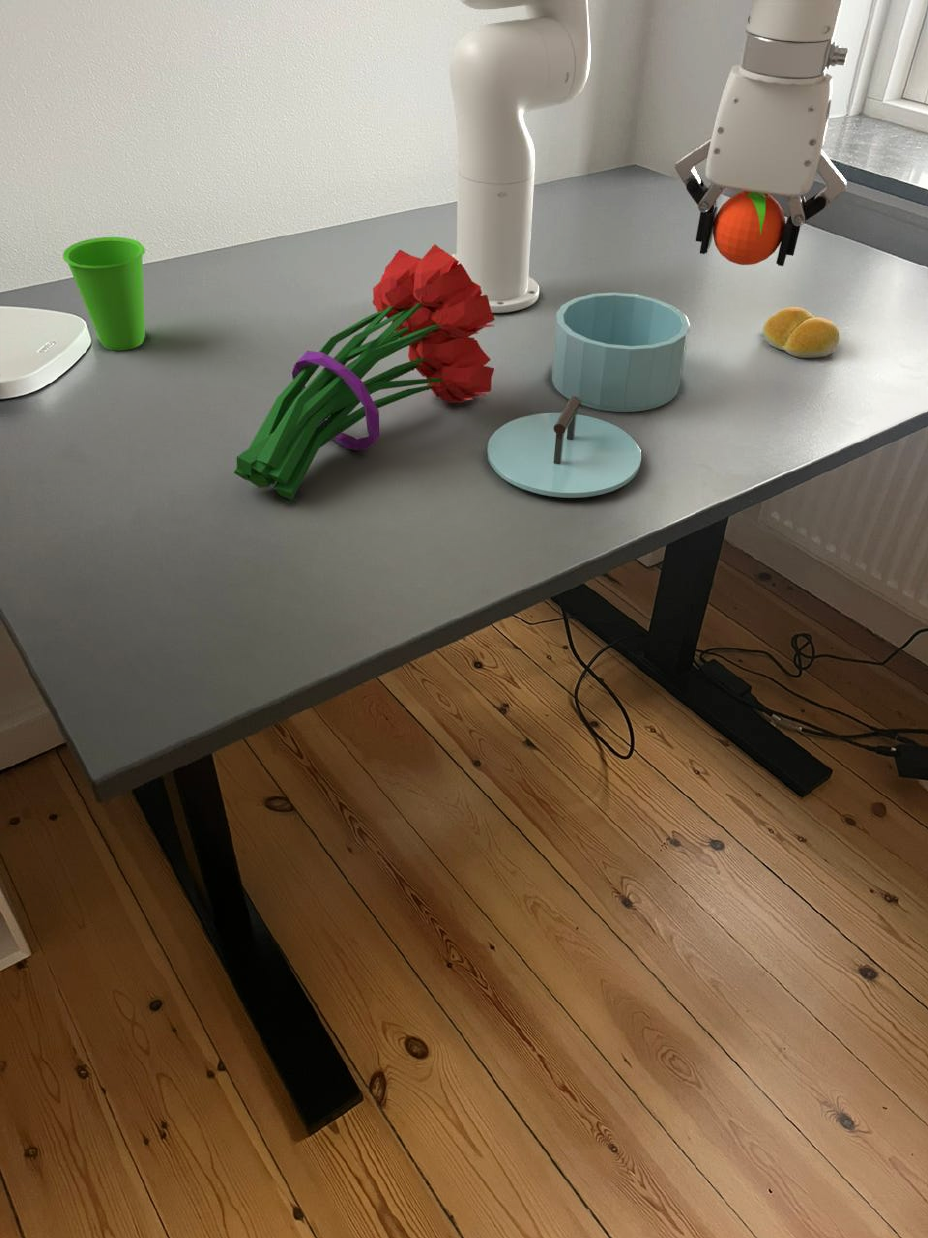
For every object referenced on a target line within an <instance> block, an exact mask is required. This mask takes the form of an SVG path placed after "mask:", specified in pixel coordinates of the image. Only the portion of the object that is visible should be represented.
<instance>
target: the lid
mask: <svg viewBox="0 0 928 1238" xmlns="http://www.w3.org/2000/svg"><path fill="white" fill-rule="evenodd" d="M580 404H581V401H580V399H579V398H578V397H576V396H573V397H571V398H570V399H568V401H567V403H566V405H565V406H564V408H563V410H562V411H561V412H543V413H535V414H529V415H525V416H521V417H518V418H516V419H513V420H510V421H509V422H507V423H504V424H503V425H502V426H500V427H499V428H498V429H496V430H495V431H494V432H493V434H491V436H490V438H489V440H488V443H487V445H486V447H487V448H486V449H487V450H486V457H487V461H488V463H489V464H490V467H491V468H492V469H493V471H494V472H495V473H496V474H497V475H498V476H499V477H500V478H502V479H503V480H504V481H506V482H507V483H509V484H511V485H513V486H515V487H517V488H519V489H521V490H523V491H528V492H530V493H534V494H536V495H541V496H547V497H552V498H553V497H554V498H566V499H567V498H568V499H578V498H589V497H597V496H600V495H601V496H602V495H605V494H609V493H611V492H614V491H616V490H619V489H620V488H622V487H624V486H626V485H628V484H629V483H630V482H631V481H633V479H634V478H635V477H636V476H637V474H638V472H639V471H640V468H641V465H642V452H641V448H640V447H639V445H638V443H637V442H636V441H635V439H634V438H633V437H632V436H631V435H630V434H629V433H628V432H627V431H625V430H623V429H622V428H620V427H619V426H617V425H614V424H612V423H610V422H609V421H605V420H603V419H600V418H596V417H593V416H589V415H584V414H578V409H579V408H580V406H581V405H580Z"/></svg>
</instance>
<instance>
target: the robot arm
mask: <svg viewBox="0 0 928 1238" xmlns="http://www.w3.org/2000/svg"><path fill="white" fill-rule="evenodd" d="M843 1H844V0H751V3H750V9H749V14H748V19H747V25H746V29H745V35H744V39H743V45H742V50H741V56H740V61H739V64H734V65H733V66H732V67H731V69H730V71H729V74H728V77H727V79H726V83H725V86H724V88H723V92H722V96H721V99H720V103H719V106H718V110H717V114H716V117H715V120H714V121H715V122H714V126H713V130H712V134H711V137H709V138H707V139H706V140H704V142H702V143H700V144H698V145H697V146H696V147H695V148H692V149H691V150H690V151H689V152H687V153H686V154H683V155H682V156H681V157H680V158H678V159H677V161H676V163H675V165H674V168H675V170H676V172H677V175H678V176H679V177H680V179H681V181H682V183H683V184H684V186H685V188H686V191H687V192H688V194H689V195H690V196H691V198H692V199H693V201H694V202H695V204H696V205H697V209H698V211H699V212H700V213H699V217H698V223H697V229H696V235H695V242H699V243H700V248H699V254H701V255H705V254H707V253H708V252H709V249H710V247H711V245H712V242H713V238H714V237H713V225H714V221H715V218H716V215H717V213H718V211H719V207H718V206H717V205H718V204H717V200H718V199H719V197H720V196H721V195H722V193H723V192H724V191H725V189H727V190H728V189H729V190H735V191H741V192H743V191H749V192H756V193H763V194H770V195H771V196H778V197H779V196H780V197H785V201H786V203H787V208H788V211H789V216H788V217H787V218H786V220H785V223H786V224H785V228H784V232H783V237H782V241H781V243H780V245H779V250H778V253H777V258H776V265H777V266H778V267H784V264H785V261H786V258H787V256H791V257H793V256H794V254H795V250H796V247H797V243H798V238H799V234H800V230H801V226H803V225H804V223H805V222H807V221H808V220H809V219H811V218H812V217H814V216H815V215H817V214H818V213H819V212H821V211H823V210H824V209H825V207H826V206H828V205H829V204H831V203H832V202H833V201H834V200H836V199H837V198H839V196H841V195H842V194H844V193H845V191H846V190H847V185H848V182H847V179H845V177H844V176H843V175H842V173H841V172H840V171H839V170H838V168H837V167H836V166H835V164H834V163H833V162H832V161H831V159H830V158H829V157H828V155H827V154H826V152H824V150H823V149H824V144H825V143H824V142H825V137H826V134H827V133H826V132H827V129H828V123H829V118H830V111H831V105H832V95H833V79H834V78H833V76H832V75H831V74H829V73H826V71H827V70H831V69H830V68H831V67H836V66H845V64H846V60H847V55H848V52H849V47H841V45H837V42H836V41H834V38H835V34H836V30H837V26H838V22H839V18H840V14H841V8H842V6H843V5H842V4H843ZM460 2H461V3H462V4H463V5H465V6H467V7H468V8H470V9H475V10H498V9H507V8H516V7H521V6H522V7H523V6H524V7H525V14H526V18H525V19H514V20H507V21H501V22H495V23H489V24H485V25H481V26H479V27H476V28H473V29H471V30H470V31H468V32H466V33H465V34H464V35H463V36H462V37H461V38H460V39H459V40H458V41H457V44H455V46H454V48H453V51H452V53H451V57H450V62H449V79H450V88H451V93H452V99H453V105H454V110H455V111H454V113H455V122H456V139H457V140H456V141H457V164H456V165H457V169H456V170H457V171H456V172H457V194H456V195H457V196H456V197H457V201H456V203H457V205H456V208H457V209H456V213H457V214H456V253H452V254H451V256H452V257H454V258H455V259H456V260H458V261H459V263H458V264H462V266H463V267H464V269H465V270H466V272H467V274H468V275H469V277H470V279H471V281H472V282H474V283H476V284H478V285H479V286H481V291H482V294H481V295H480V296H482V295H487V296H488V300H489V304H490V307H491V311H492V314H503V313H511V312H517V311H521V310H524V309H526V308H528V307H530V306H532V305H534V304H535V303H536V302H537V301H538V299H539V297H540V286H539V284H538V283H537V281H536V280H535V279H533V278H532V277H530V276H529V273H530V272H529V271H530V256H531V241H532V239H531V238H532V221H533V206H534V204H533V203H534V189H535V171H536V170H535V169H536V153H535V146H534V142H533V139H532V137H531V135H530V133H529V131H528V128H527V126H526V124H525V120H524V114H525V113H529V112H532V111H535V110H536V111H537V110H540V109H546V108H551V107H554V106H559V105H563V104H566V103H568V102H571V101H572V100H574V99H575V98H577V96H579V95H580V93H581V92H582V91H583V89H584V88H585V86H586V83H587V80H588V77H589V73H590V68H591V34H590V19H589V18H590V17H589V4H588V0H460ZM704 160H706V164H705V171H704V172H705V173H704V174H705V179H706V180H707V182H709V183H710V184H709V186H707V185H706V184H705V182H704V181H703V180H702V178H701V177H700V176H699V175H698V173H697V170H696V169H695V167H696V166H697V165H698V164H700V163H702V162H703V161H704ZM817 174H818V175H819V176H820V178H821V180H823V181H824V183H825V184H826V186H825V187H824V188H822V190H820V192H817V193H815V195H813V196H812V197H810V198H808V199H807V200H806V197H805V195H806V194H808V193H809V192H810V191H811V188H812V186H813V184H814V181H815V179H816V176H817Z"/></svg>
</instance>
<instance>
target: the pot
mask: <svg viewBox="0 0 928 1238" xmlns="http://www.w3.org/2000/svg"><path fill="white" fill-rule="evenodd" d="M554 322H555V323H554V332H553V343H552V345H553V346H552V357H551V370H550V371H551V382H552V385H553V387H554V388H555V390H556V391H557V392H558V393H559V394H560V395H562V396H563V397H564V398H566V399H567V400H569V399H570V398H571V397H573V396H576V397H578V398H579V399H580V401H581V404H580V406H582V407H587V408H590V409H594V410H599V411H604V412H612V413H635V412H636V413H637V412H644V411H649V410H653V409H657V408H659V407H662V406H664V405H666V404H669V402H671V401H673V400H674V398H675V397H676V395H677V394H678V392H679V387H680V385H681V381H682V375H683V369H684V364H685V359H686V351H687V346H688V341H689V334H690V331H691V330H690V329H691V324H690V322H689V319H688V317H687V315H686V314H685V313H684V312H683V311H681V310H680V309H678V308H677V307H676V306H674V305H673V304H670V303H667V302H665V301H663V300H660V299H658V298H653V297H651V296H650V297H649V296H645V295H641V294H635V293H624V292H623V293H622V292H602V293H601V292H600V293H599V292H598V293H591V294H587V295H583V296H578V297H574V298H573V299H571V300H568V301H567V302H565V303H563V304H562V305H561V306H560V307H559V309H558V310H557V312H556V313H555V321H554Z"/></svg>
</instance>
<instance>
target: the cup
mask: <svg viewBox="0 0 928 1238" xmlns="http://www.w3.org/2000/svg"><path fill="white" fill-rule="evenodd" d="M145 253H146V248H145V247H144V245H143V244H142V243H141V242H140V241H138V240H135V239H133V238H129V237H120V236H102V237H101V236H100V237H94V238H90V239H84V240H82V241H78V242H76V243H73V244H71V245H70V246H68V247H66V248H65V249H64V250H63V253H62V259H63V261H64V262H65V263H66V264H68V267H69V270H70V272H71V274H72V277H73V279H74V282H75V283H76V286H77V289H78V291H79V294H80V296H81V299H82V301H83V304H84V306H85V308H86V311H87V313H88V315H89V316H88V317H89V318H90V320H91V323H92V325H93V327H94V328H93V329H94V331H95V333H96V335H97V337H98V340H99V343H100V344H102V346H103V347H104V348H105V349H108V350H109V351H110V350H111V351H128V350H133V349H134V348H138V347H140V346H141V345H143V343H144V341H145V337H146V328H145V324H146V323H145V297H144V296H145V295H144V293H145V292H144V267H143V266H144V264H143V256H144V254H145Z"/></svg>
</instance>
